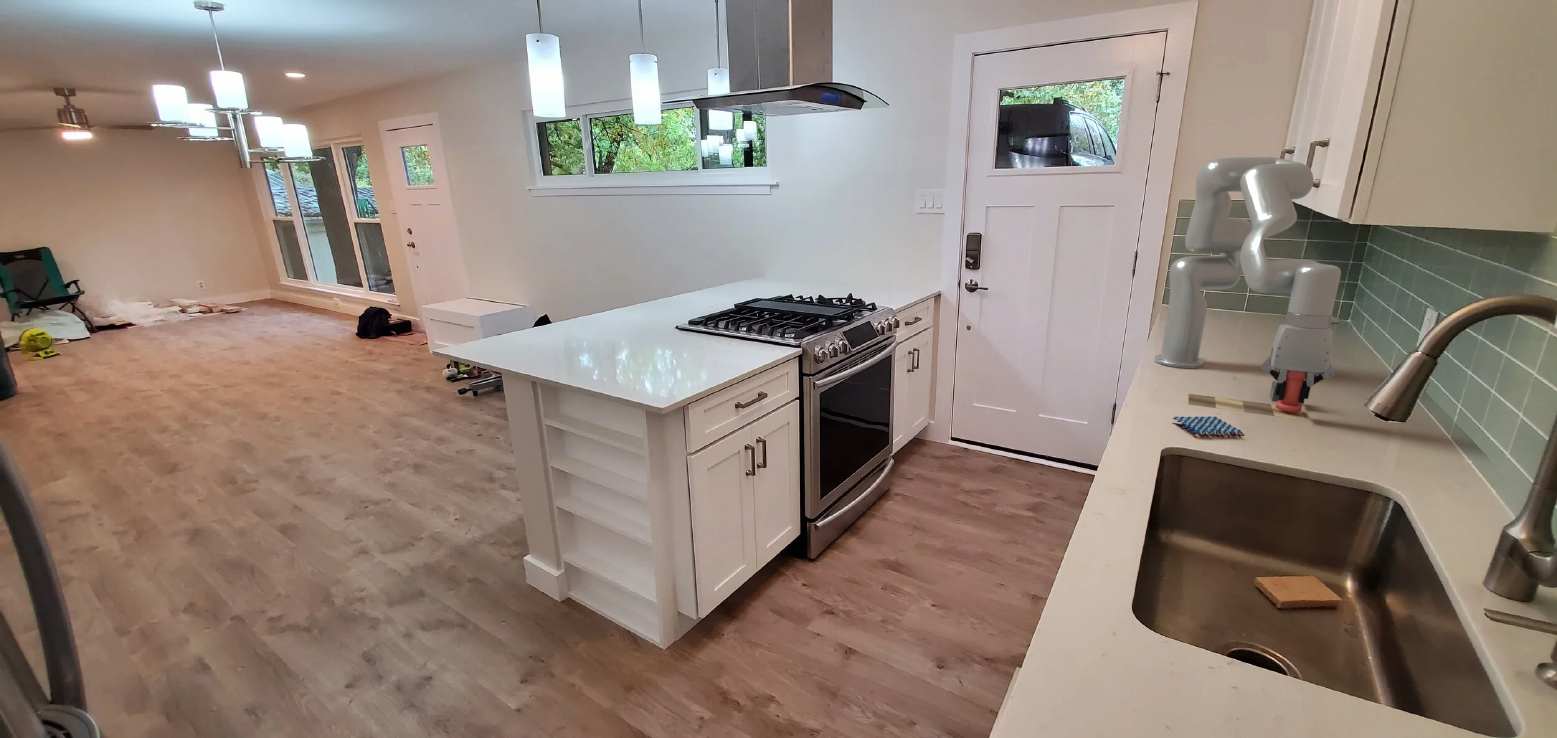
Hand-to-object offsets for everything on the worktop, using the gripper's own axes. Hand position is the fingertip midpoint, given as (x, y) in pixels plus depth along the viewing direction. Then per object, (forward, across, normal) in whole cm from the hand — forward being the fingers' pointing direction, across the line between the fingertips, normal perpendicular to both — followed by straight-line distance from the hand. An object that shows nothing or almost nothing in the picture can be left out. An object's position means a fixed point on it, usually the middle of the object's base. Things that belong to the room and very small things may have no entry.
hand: (1290, 399), depth 144 cm
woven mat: (+5, +16, +18) cm, 24 cm away
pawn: (+2, 0, 0) cm, 2 cm away
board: (+4, +8, 0) cm, 9 cm away
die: (+4, 0, -10) cm, 11 cm away
